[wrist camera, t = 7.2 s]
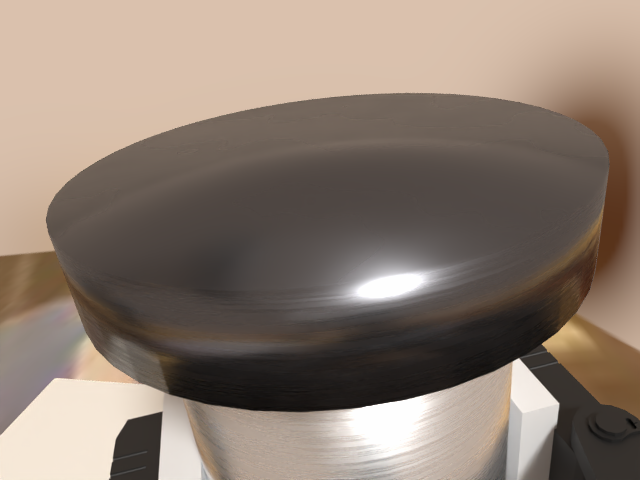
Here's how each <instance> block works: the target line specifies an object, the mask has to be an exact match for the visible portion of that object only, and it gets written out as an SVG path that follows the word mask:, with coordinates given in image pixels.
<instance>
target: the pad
mask: <svg viewBox="0 0 640 480" xmlns="http://www.w3.org/2000/svg"><path fill="white" fill-rule="evenodd" d="M163 400H164V392H162V391H160V390H157V389H155V388H152V387H150V386H148V385H145V384H131V383H117V382H103V381H90V380H76V379H62V378H54V380H53V381H52V382H51V383H50V384H49V385H48V386H47V387H46V388H45V389H44V390H43V391H42V392H41V393H40V394H39V395H38V396H37V398H36V399H35V400H34V401H33V402H32V403H31V404H30V405H29V406H28V407H27V408H26V409H25V410H24V411H23V412H22V413H21V414H20V415H19V417H18V418H17V419H16V420H15V421H14V422H13V423H12V424H11V425H10V426H9V427H8V428H7V429H6V430H5V431H4V432H3V433H2V435H1V436H0V480H109V478H110V471H111V465H112V462H113V452H114V446H115V440H116V438H117V436H118V434H119V433H120V431H121V430H122V428H123V427H124V425H125V423H126V422H127V420H128V419H133V418H137V417H141V416H145V415H150V414H154V413H158V412H162V411H163Z"/></svg>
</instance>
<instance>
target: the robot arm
mask: <svg viewBox="0 0 640 480" xmlns="http://www.w3.org/2000/svg"><path fill="white" fill-rule="evenodd" d="M109 480H207V479H206V475H205V472H204V469H203V465H202V462H201V459H200V455H199V452H198V448H197V445H196V442H195V438H194V435H193V432H192V428H191V425H190V421H189V418H188V415H187V411H186V408H185V405H184V401H183V398H181V397H177V396H173V395H169V394H167V393H164V400H163V411H162V412H158V413H154V414H150V415H145V416H141V417H137V418H133V419H128V420H127V422H126V423H125V425H124V427H123V428H122V430H121V431H120V433H119V434H118V436H117V438H116V440H115V446H114V452H113V462H112V465H111V471H110V478H109ZM506 480H640V421H639V419H638V418H636V417H635V416H633V415H632V414H630V413H628V412H627V411H625V410H623V409H620V408H617V407H614V406H611V405H603V404H600V403H599V402H598V401H597V400H596V399H595V398H594V397H593V396H592V395H591V394H590V393H589V392H588V391H587V390H586V389H585V388H584V387H583V386H582V385H581V384H580V383H579V382H578V381H577V380H576V379H575V378H574V377H573V376H572V375H571V374H570V373H569V372H568V371H567V370H566V369H565V368H564V367H563V366H562V365H561V364H558V361H557V360H556V359H555V358H554V357H553V356H552V355H551V354H550V353H548V352H547V349H546V348H545V347H544V346H543V345H542V344H541V345H539V346H538V347H536V348H535V349H534V350H532V351H531V352H530V353H528V354H526V355H524V356H522V357H520V358H518V359H517V360H515V361H513V367H512V383H511V400H510V416H509V432H508V449H507V465H506Z"/></svg>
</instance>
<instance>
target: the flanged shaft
mask: <svg viewBox="0 0 640 480" xmlns="http://www.w3.org/2000/svg"><path fill="white" fill-rule="evenodd" d="M608 171H609V156H608V150H607V149H606V147H605V145H604V143H603V142H602V140H601V139H600V138H599V137H598V136H597V135H596V134H595V133H594V132H593V131H592V130H590V129H589V128H587V127H586V126H584V125H582V124H581V123H579V122H577V121H575V120H573V119H571V118H569V117H566V116H564V115H562V114H559V113H556V112H553V111H550V110H547V109H544V108H541V107H537V106H533V105H528V104H524V103H520V102H514V101H508V100H502V99H496V98H488V97H479V96H469V95H456V94H434V93H433V94H432V93H431V94H430V93H396V94H395V93H393V94H369V95H353V96H341V97H331V98H322V99H312V100H306V101H298V102H290V103H284V104H278V105H272V106H266V107H261V108H256V109H250V110H245V111H240V112H236V113H232V114H227V115H223V116H219V117H215V118H211V119H207V120H203V121H199V122H196V123H192V124H189V125H185V126H182V127H179V128H175V129H173V130H170V131H166V132H164V133H161V134H158V135H155V136H152V137H150V138H147V139H144V140H142V141H139V142H137V143H134V144H132V145H130V146H128V147H126V148H123V149H121V150H118V151H116V152H114V153H112V154H110V155H108V156H107V157H105V158H103V159H101V160H99V161H97V162H96V163H94V164H92V165H91V166H89V167H88V168H86V169H85V170H83V171H81V172H80V173H79V174H77V176H75V177H74V178H72V179H71V180H70V181H69V182H67V183H66V184H65V186H64V187H63V188H62V189H61V190H60V191H59V192H58V193H57V194H56V195H55V197H54V199H53V200H52V202H51V204H50V206H49V208H48V212H47V217H46V223H47V228H48V233H49V236H50V238H51V241H52V243H53V246H54V249H55V251H56V254H57V257H58V259H59V262H60V265H61V267H62V270H63V273H64V275H65V278H66V281H67V283H68V286H69V289H70V291H71V294H72V297H73V299H74V302H75V305H76V307H77V310H78V313H79V315H80V318H81V321H82V323H83V326H84V329H85V331H86V333H87V335H88V336H89V338H90V340H91V342H92V343H93V345H94V347H95V348H96V350H97V351H98V352H99V353H101V354H102V355H103V356H104V357H105V358H106V359H107V360H108V361H109V362H110V363H111V364H112V365H113V366H114V367H116V368H117V369H119V370H120V371H122V372H124V373H125V374H127V375H128V376H130V377H131V378H133V379H135V380H136V381H138V382H140V383H143V384H145V385H148V386H150V387H152V388H155V389H157V390H160V391H162V392H164V393H167V394H169V395H173V396H177V397H181V398H183V401H184V405H185V408H186V411H187V415H188V418H189V421H190V425H191V428H192V432H193V435H194V438H195V442H196V445H197V448H198V452H199V455H200V459H201V462H202V465H203V469H204V472H205V475H206V479H207V480H506V465H507V449H508V432H509V416H510V400H511V383H512V367H513V361H515V360H517V359H518V358H520V357H522V356H524V355H526V354H528V353H530V352H531V351H532V350H534V349H535V348H536V347H538V346H539V345H541V344H542V343H543V342H545V341H546V340H547V339H549V338H550V337H551V336H553V335H554V334H556V333H557V332H558V331H559V330H560V329H561V328H562V327H563V326H564V325H565V324H566V323H567V322H568V320H569V319H570V318H571V317H572V316H573V315H574V314H575V313H576V312H577V311H578V309H579V308H580V306H581V304H582V303H583V301H584V299H585V298H586V296H587V294H588V293H589V290H590V288H591V284H592V281H593V277H594V273H595V268H596V261H597V254H598V246H599V238H600V231H601V223H602V216H603V208H604V201H605V194H606V187H607V179H608Z"/></svg>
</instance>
